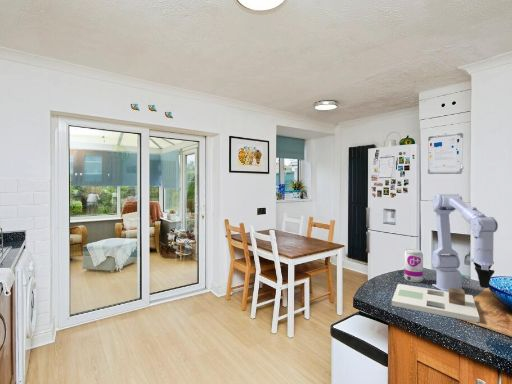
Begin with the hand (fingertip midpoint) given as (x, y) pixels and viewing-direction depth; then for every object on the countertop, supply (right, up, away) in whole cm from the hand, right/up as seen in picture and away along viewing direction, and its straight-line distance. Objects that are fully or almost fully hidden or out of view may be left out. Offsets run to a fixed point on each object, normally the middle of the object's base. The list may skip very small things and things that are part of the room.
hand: (483, 284), depth 109 cm
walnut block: (-7, -8, +4) cm, 12 cm away
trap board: (-13, -10, +8) cm, 19 cm away
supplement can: (-7, -10, +36) cm, 38 cm away
